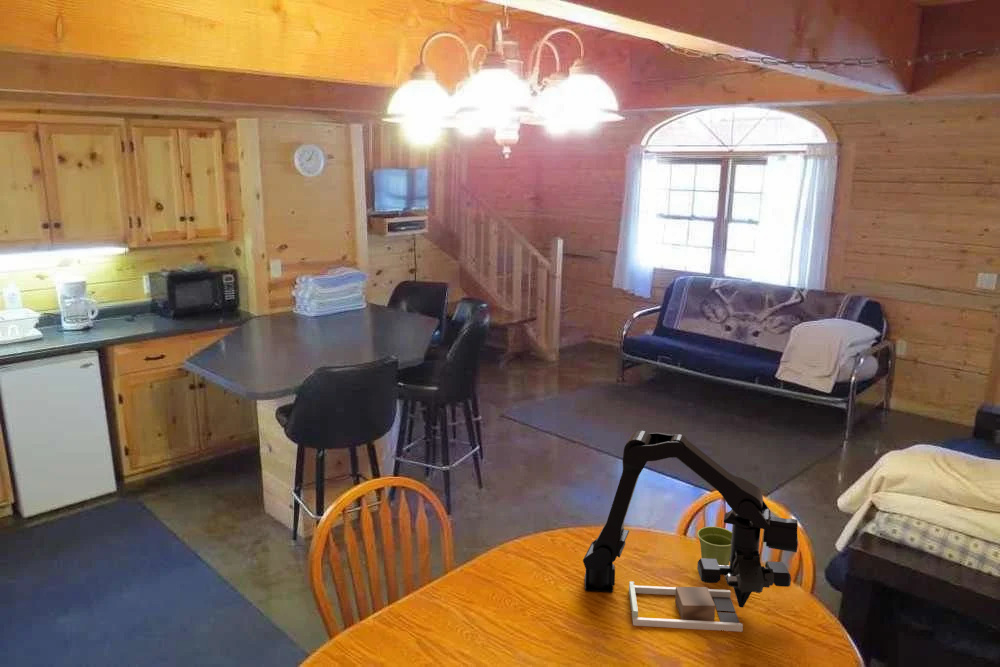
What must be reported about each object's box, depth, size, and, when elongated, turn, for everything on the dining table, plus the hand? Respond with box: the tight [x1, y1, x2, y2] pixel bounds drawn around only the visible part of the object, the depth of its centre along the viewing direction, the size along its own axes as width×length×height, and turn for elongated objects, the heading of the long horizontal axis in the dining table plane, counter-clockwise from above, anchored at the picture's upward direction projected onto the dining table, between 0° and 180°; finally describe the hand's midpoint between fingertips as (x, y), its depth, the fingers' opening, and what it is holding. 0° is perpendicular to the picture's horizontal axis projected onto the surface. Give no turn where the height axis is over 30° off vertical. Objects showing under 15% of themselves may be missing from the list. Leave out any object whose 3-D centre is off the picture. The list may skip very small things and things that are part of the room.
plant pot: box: [696, 525, 732, 566], centre depth 171 cm, size 9×9×9 cm
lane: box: [628, 581, 744, 633], centre depth 155 cm, size 23×13×3 cm, turn 84°
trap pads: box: [712, 597, 740, 623], centre depth 154 cm, size 4×11×1 cm, turn 174°
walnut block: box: [674, 586, 716, 622], centre depth 155 cm, size 7×7×4 cm
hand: (740, 606), depth 154 cm, fingers closed
